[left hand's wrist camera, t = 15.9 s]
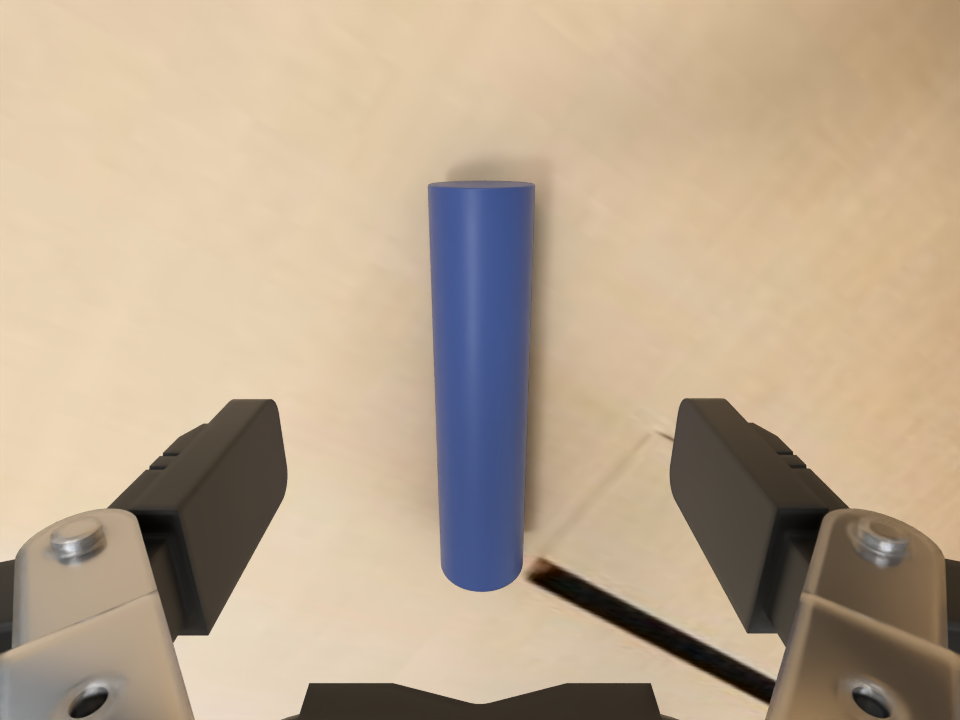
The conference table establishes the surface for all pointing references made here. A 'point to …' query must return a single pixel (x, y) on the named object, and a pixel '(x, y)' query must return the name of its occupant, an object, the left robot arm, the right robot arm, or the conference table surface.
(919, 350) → the conference table surface
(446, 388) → the rod
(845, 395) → the conference table surface
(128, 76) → the conference table surface
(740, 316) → the conference table surface
